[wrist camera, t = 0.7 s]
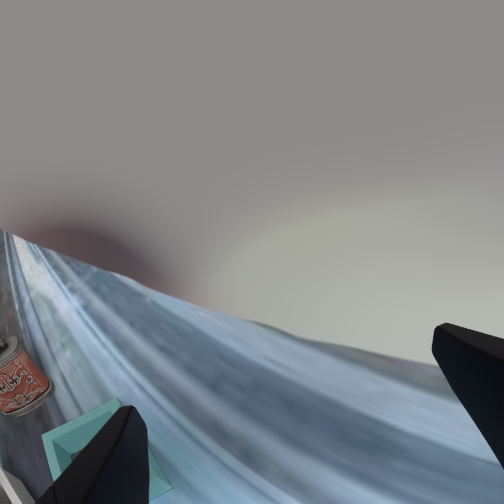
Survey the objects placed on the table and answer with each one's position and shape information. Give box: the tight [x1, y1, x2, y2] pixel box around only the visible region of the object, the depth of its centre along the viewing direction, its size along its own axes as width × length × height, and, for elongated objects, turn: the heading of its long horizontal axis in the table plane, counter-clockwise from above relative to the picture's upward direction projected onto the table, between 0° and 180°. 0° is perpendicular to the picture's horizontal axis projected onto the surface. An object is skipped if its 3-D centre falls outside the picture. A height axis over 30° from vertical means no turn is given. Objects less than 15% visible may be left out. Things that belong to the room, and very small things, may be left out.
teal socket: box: [42, 397, 173, 500], centre depth 19 cm, size 9×9×3 cm
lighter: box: [0, 333, 55, 419], centre depth 23 cm, size 8×3×10 cm, turn 129°
